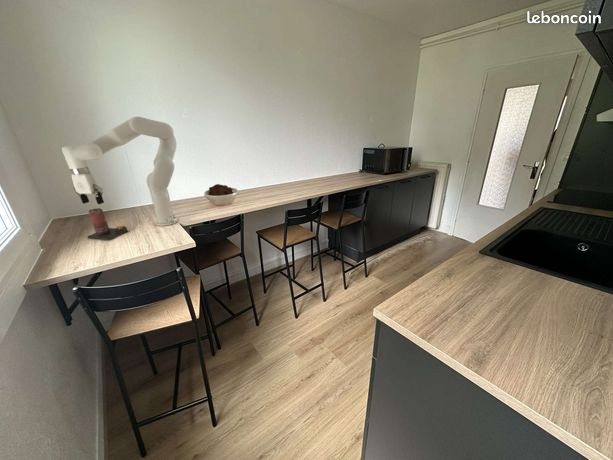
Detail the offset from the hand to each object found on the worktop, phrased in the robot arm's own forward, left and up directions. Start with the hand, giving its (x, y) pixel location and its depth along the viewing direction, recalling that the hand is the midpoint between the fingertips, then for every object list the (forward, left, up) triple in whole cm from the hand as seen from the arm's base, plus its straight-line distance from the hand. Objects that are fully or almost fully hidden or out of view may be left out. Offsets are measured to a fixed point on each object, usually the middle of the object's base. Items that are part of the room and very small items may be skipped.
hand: (93, 203), depth 135 cm
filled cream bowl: (-37, -67, -19) cm, 79 cm away
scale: (-2, -1, -19) cm, 19 cm away
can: (0, 0, -18) cm, 18 cm away
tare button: (-7, -5, -17) cm, 18 cm away
